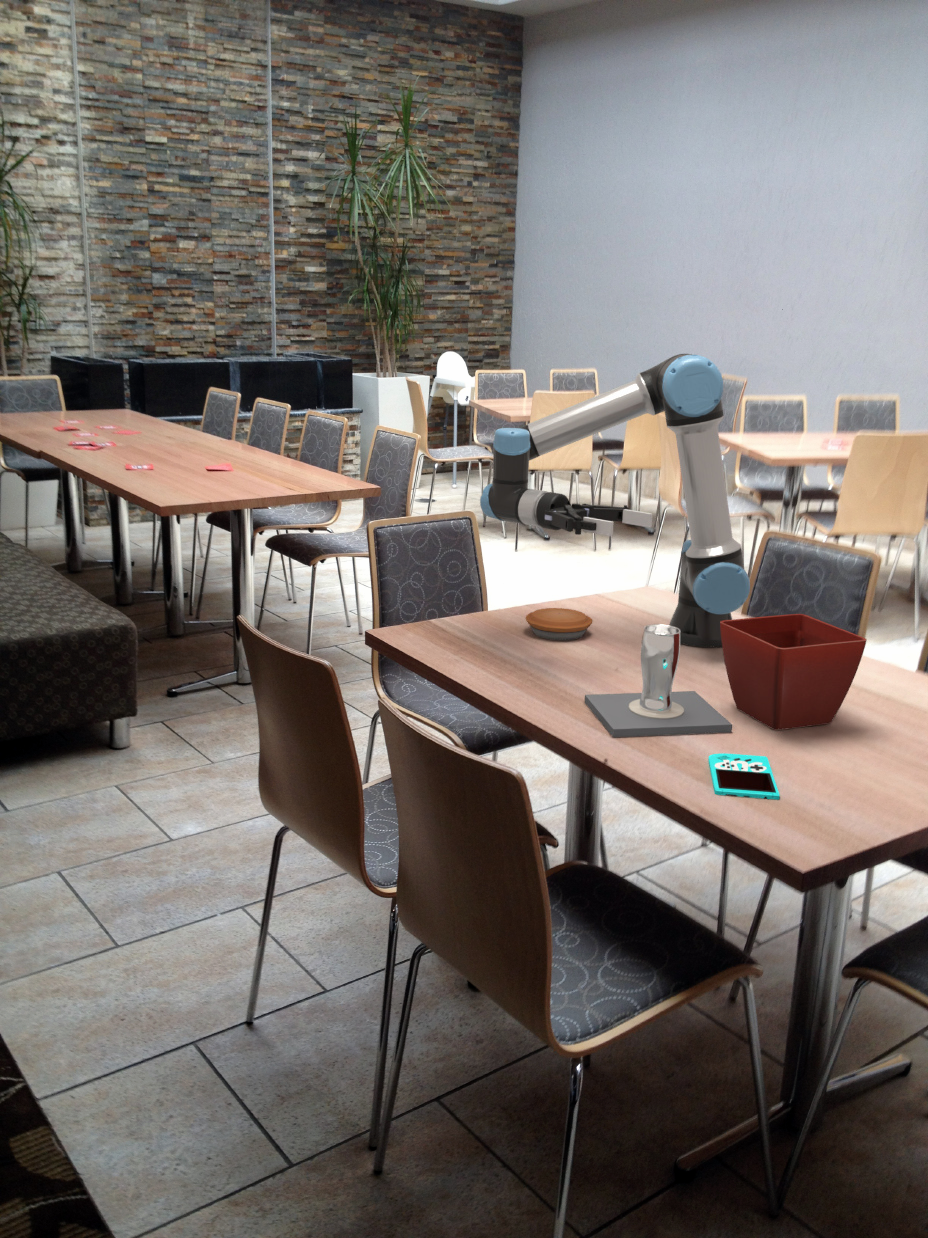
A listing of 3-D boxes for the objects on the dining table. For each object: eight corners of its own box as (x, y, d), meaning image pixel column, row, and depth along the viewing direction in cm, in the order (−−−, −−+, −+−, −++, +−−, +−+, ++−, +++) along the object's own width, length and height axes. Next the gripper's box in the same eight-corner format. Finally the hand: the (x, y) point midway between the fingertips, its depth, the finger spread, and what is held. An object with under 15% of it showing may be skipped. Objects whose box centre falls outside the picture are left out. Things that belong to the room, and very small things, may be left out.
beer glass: (673, 702, 204) (680, 625, 200) (675, 715, 197) (682, 635, 193) (636, 699, 205) (642, 622, 201) (636, 712, 198) (643, 633, 194)
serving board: (693, 698, 212) (694, 689, 212) (731, 732, 195) (732, 723, 194) (584, 702, 208) (584, 693, 208) (613, 737, 191) (613, 727, 191)
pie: (595, 644, 246) (596, 623, 244) (525, 642, 246) (526, 621, 244) (588, 625, 260) (589, 605, 259) (523, 623, 261) (524, 603, 259)
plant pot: (709, 704, 209) (717, 619, 205) (792, 694, 216) (802, 612, 211) (770, 740, 192) (780, 648, 187) (858, 728, 199) (870, 639, 194)
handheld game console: (767, 762, 183) (768, 755, 183) (781, 803, 168) (782, 795, 168) (707, 758, 185) (707, 750, 184) (714, 797, 169) (715, 789, 169)
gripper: (580, 520, 236) (665, 535, 222) (506, 535, 218) (593, 552, 204) (582, 485, 234) (667, 498, 220) (507, 497, 216) (595, 512, 202)
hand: (632, 524), depth 212 cm, fingers open, 13 cm apart
